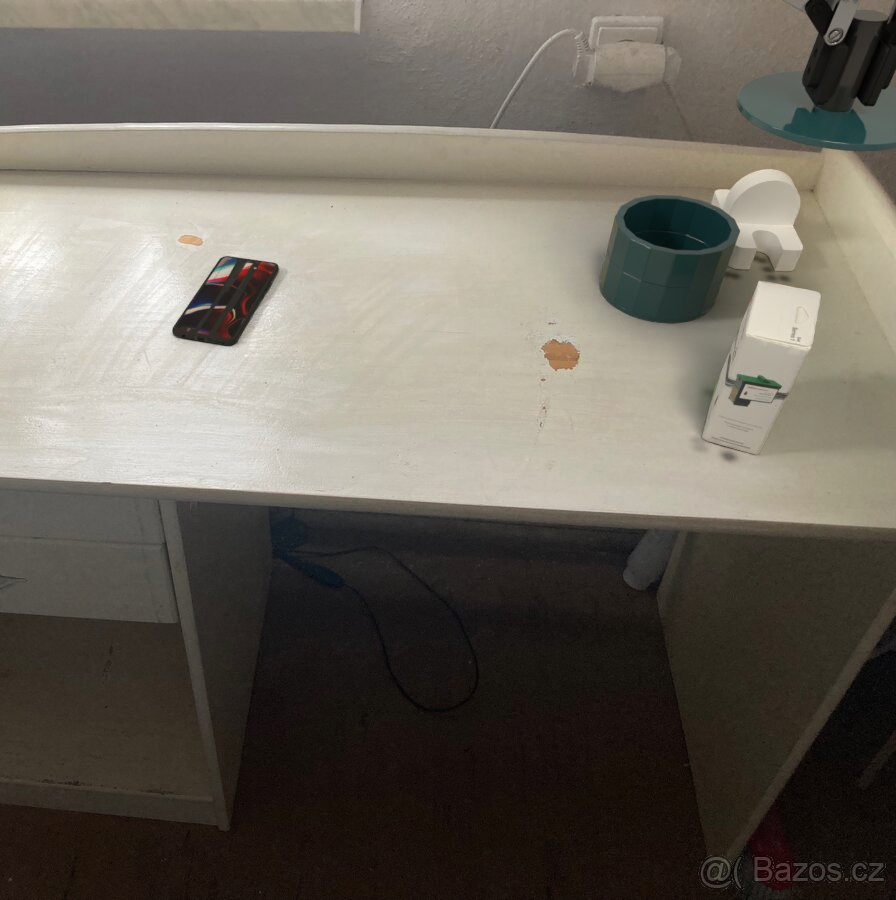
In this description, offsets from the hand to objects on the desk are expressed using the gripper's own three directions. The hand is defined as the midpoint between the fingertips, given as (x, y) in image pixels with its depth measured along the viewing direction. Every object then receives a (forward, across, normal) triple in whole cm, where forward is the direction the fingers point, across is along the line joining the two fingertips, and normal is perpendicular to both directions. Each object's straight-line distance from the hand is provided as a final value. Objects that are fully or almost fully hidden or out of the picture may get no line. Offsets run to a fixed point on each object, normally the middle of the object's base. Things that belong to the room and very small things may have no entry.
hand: (839, 95), depth 61 cm
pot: (+27, -4, +16) cm, 32 cm away
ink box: (+28, +1, -4) cm, 28 cm away
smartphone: (+28, -49, +9) cm, 57 cm away
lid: (+1, 0, 0) cm, 1 cm away
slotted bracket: (+28, +8, +28) cm, 40 cm away
